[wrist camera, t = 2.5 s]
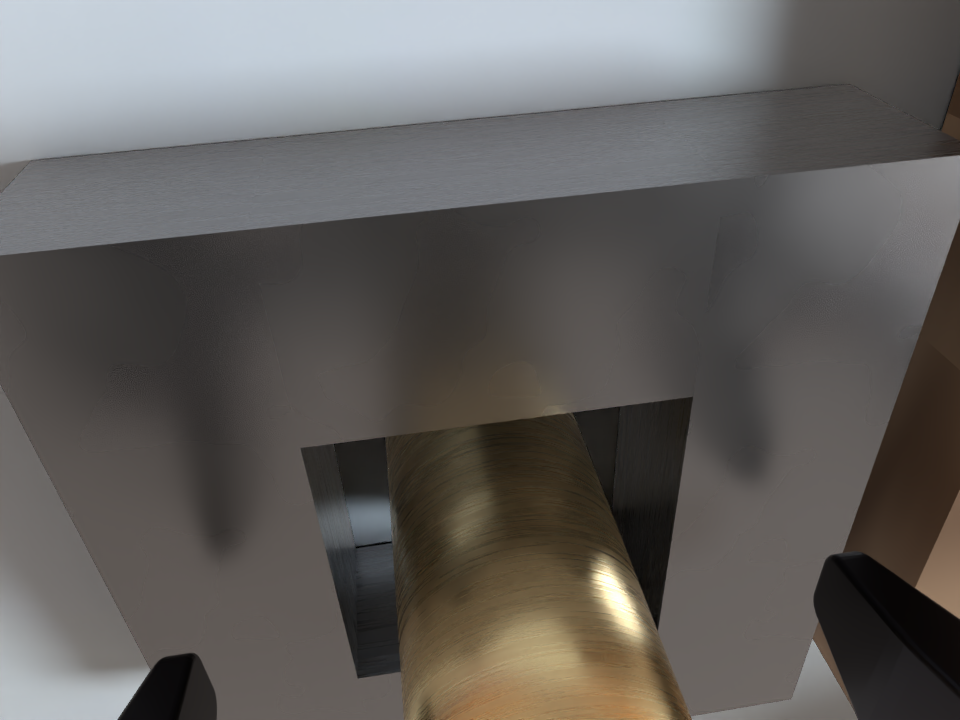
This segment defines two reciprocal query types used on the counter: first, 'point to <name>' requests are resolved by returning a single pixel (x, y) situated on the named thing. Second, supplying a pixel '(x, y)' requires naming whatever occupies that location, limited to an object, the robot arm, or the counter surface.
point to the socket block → (473, 362)
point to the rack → (920, 455)
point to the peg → (517, 581)
